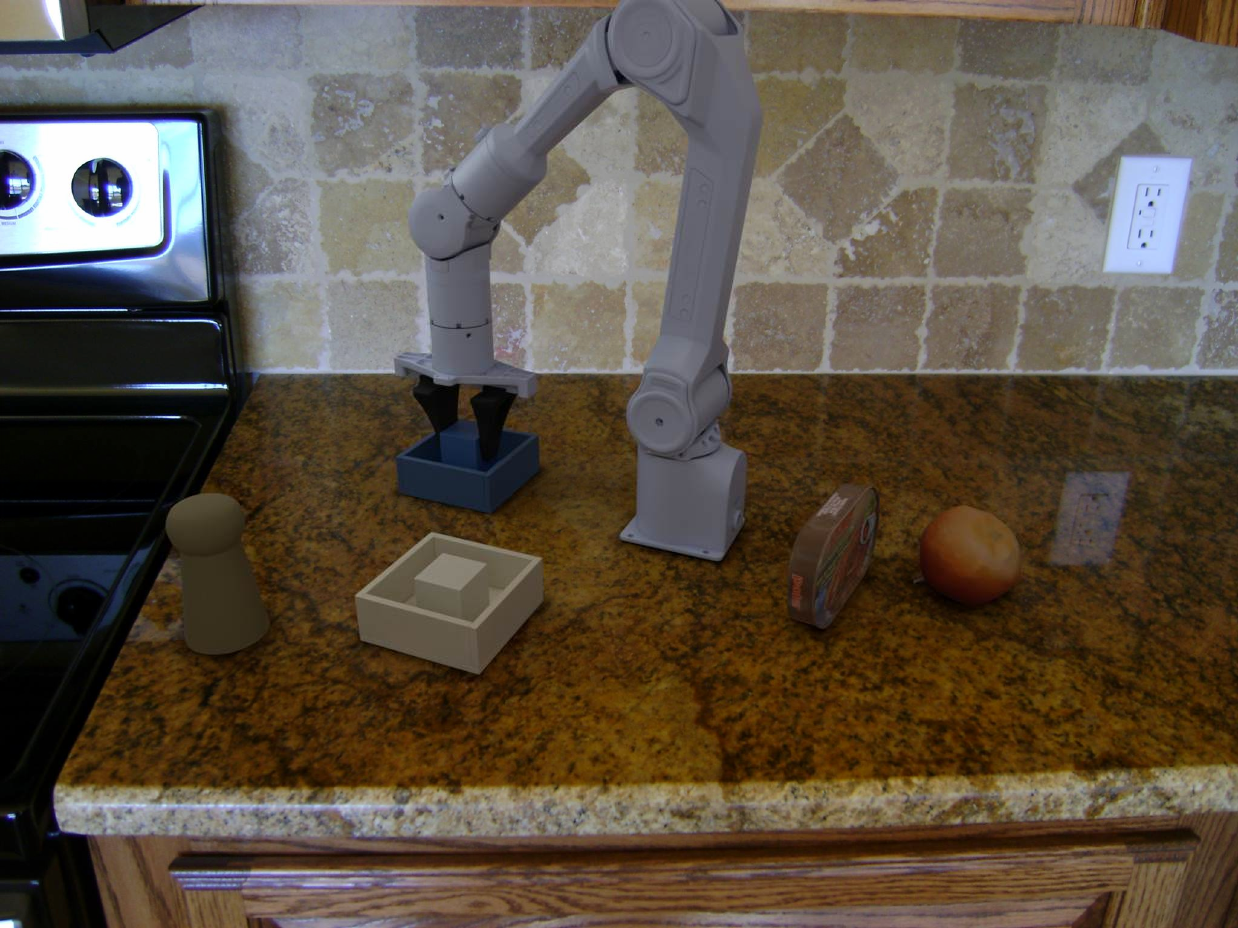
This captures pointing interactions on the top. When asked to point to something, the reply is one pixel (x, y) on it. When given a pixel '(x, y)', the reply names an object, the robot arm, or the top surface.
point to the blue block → (463, 446)
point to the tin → (832, 554)
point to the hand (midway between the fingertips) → (469, 453)
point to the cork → (216, 575)
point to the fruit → (969, 556)
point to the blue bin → (468, 473)
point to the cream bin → (440, 637)
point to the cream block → (453, 587)
